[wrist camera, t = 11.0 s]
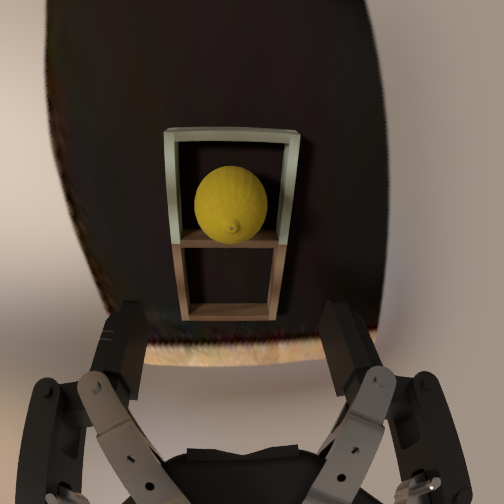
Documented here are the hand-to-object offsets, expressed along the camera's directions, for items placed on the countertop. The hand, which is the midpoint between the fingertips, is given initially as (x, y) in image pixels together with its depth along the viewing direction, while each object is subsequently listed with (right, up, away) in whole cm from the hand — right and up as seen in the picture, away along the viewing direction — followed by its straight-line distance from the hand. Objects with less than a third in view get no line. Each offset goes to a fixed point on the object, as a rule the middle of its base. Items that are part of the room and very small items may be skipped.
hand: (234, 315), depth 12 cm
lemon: (-1, +9, +13) cm, 16 cm away
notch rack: (-1, +5, +16) cm, 16 cm away
